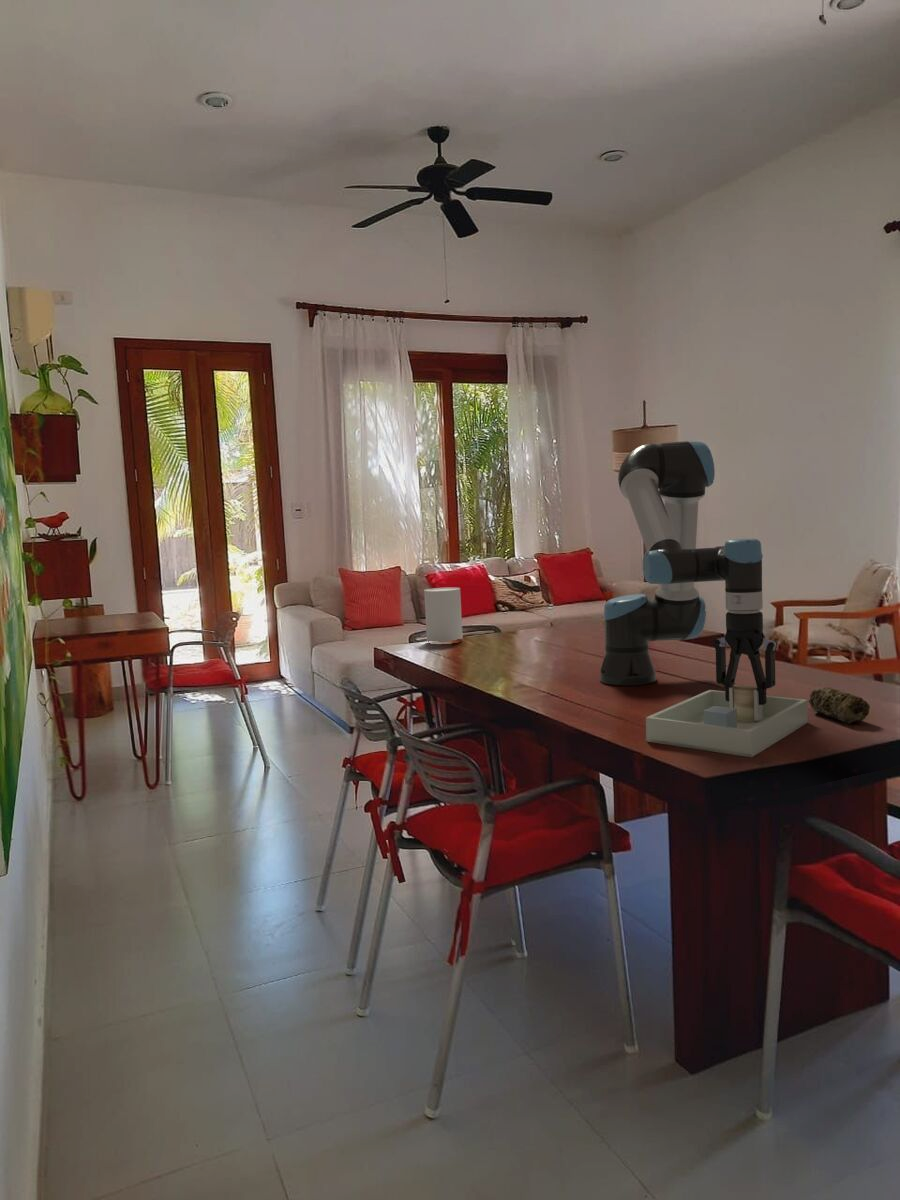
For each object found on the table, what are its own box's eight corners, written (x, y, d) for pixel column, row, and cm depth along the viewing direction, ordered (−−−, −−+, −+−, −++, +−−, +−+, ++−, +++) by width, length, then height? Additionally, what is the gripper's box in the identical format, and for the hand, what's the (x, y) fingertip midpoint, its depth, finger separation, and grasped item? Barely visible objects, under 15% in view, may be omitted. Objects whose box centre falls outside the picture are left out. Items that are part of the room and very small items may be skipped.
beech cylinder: (739, 716, 191) (739, 685, 191) (762, 718, 188) (761, 687, 187) (730, 721, 188) (729, 689, 187) (752, 723, 184) (752, 691, 184)
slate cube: (714, 729, 182) (713, 705, 181) (737, 732, 178) (736, 708, 178) (703, 734, 178) (703, 710, 178) (726, 737, 175) (726, 713, 174)
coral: (805, 712, 194) (805, 685, 194) (830, 710, 195) (830, 683, 195) (847, 728, 180) (847, 699, 179) (873, 725, 181) (873, 696, 181)
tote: (646, 741, 177) (645, 717, 177) (710, 711, 200) (709, 689, 199) (751, 757, 163) (751, 731, 162) (807, 722, 185) (807, 699, 185)
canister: (455, 645, 317) (452, 590, 315) (421, 644, 322) (418, 591, 320) (467, 639, 330) (465, 587, 328) (435, 639, 334) (432, 587, 332)
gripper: (697, 611, 189) (699, 716, 191) (779, 614, 177) (780, 726, 179) (712, 607, 194) (714, 709, 196) (792, 610, 182) (793, 718, 185)
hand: (746, 717), depth 188 cm, fingers closed on beech cylinder, 5 cm apart
